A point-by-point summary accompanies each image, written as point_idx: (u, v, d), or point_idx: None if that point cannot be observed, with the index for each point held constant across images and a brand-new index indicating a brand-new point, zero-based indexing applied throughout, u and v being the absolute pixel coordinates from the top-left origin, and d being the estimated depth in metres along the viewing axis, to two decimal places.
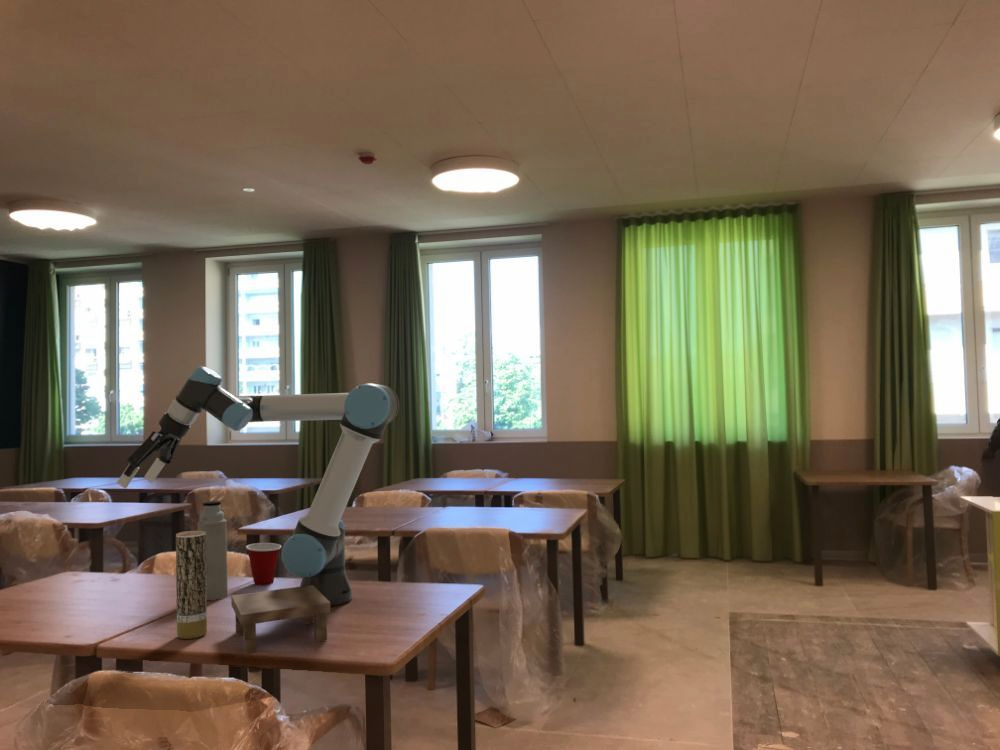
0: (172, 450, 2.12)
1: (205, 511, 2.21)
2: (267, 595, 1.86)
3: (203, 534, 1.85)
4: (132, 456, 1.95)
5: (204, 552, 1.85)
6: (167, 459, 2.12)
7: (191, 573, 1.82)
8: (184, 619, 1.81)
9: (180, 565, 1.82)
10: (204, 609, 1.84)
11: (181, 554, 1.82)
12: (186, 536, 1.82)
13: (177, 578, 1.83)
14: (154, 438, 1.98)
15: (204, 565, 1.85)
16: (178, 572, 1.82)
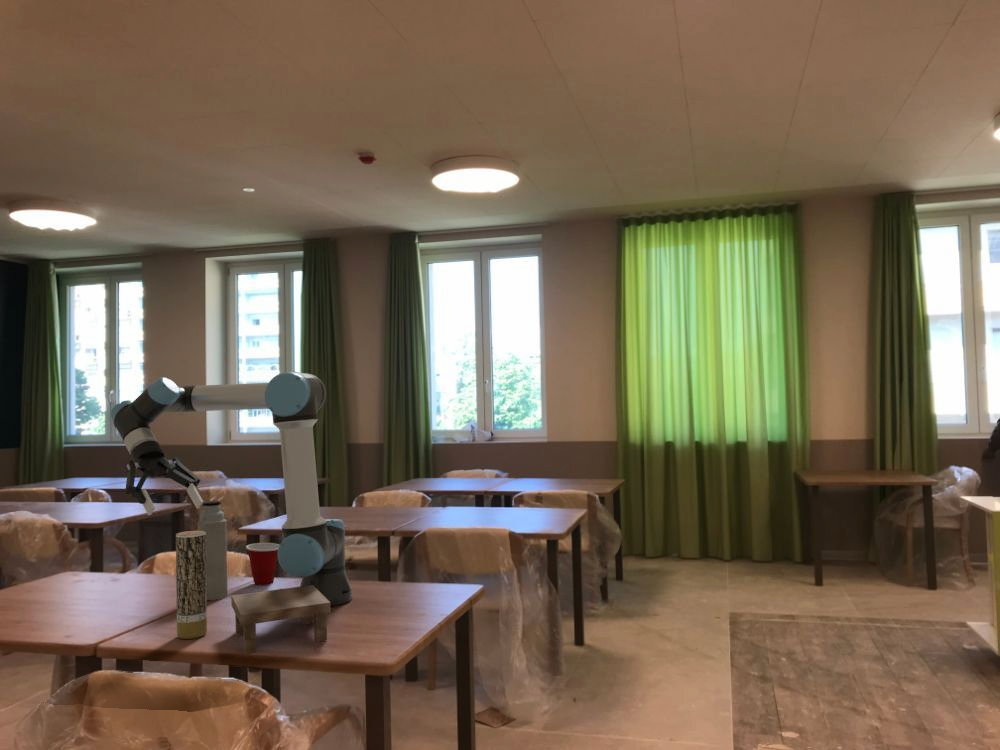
0: (187, 473, 2.06)
1: (205, 511, 2.21)
2: (267, 595, 1.86)
3: (203, 534, 1.85)
4: (126, 488, 1.91)
5: (204, 552, 1.85)
6: (190, 480, 2.04)
7: (191, 573, 1.82)
8: (184, 619, 1.81)
9: (180, 565, 1.82)
10: (204, 609, 1.84)
11: (181, 554, 1.82)
12: (186, 536, 1.82)
13: (177, 578, 1.83)
14: (128, 466, 1.96)
15: (204, 565, 1.85)
16: (178, 572, 1.82)
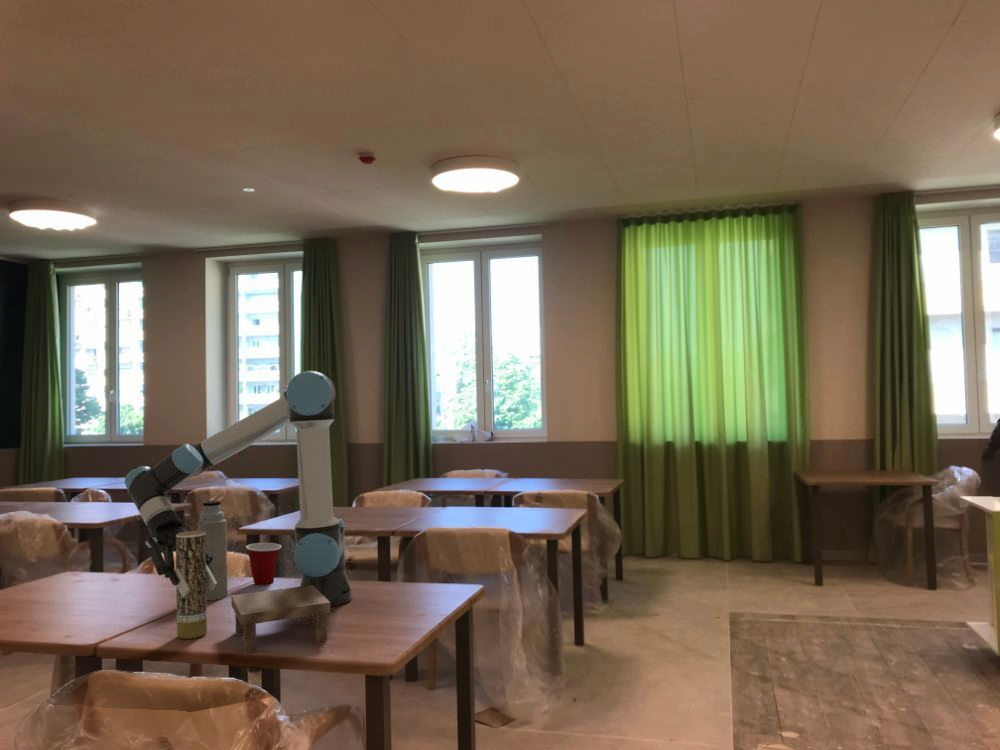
0: None
1: (205, 511, 2.21)
2: (267, 595, 1.86)
3: (203, 534, 1.85)
4: (157, 569, 1.81)
5: (204, 552, 1.85)
6: None
7: (191, 573, 1.82)
8: (184, 619, 1.81)
9: (180, 565, 1.82)
10: (204, 609, 1.84)
11: (181, 554, 1.82)
12: (186, 536, 1.82)
13: None
14: (149, 544, 1.84)
15: (204, 565, 1.85)
16: None
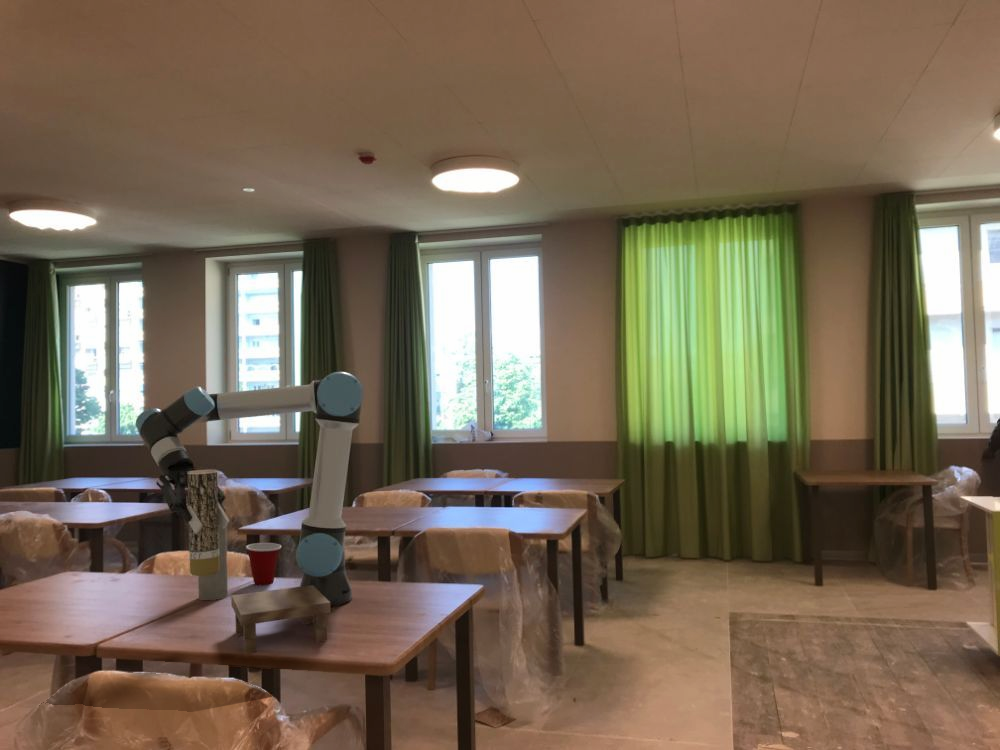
0: None
1: None
2: (267, 595, 1.86)
3: (215, 471, 1.84)
4: (169, 505, 1.81)
5: (216, 490, 1.85)
6: None
7: (203, 510, 1.82)
8: (197, 556, 1.81)
9: (192, 502, 1.82)
10: (217, 546, 1.84)
11: (193, 491, 1.81)
12: (198, 473, 1.82)
13: None
14: (161, 482, 1.84)
15: (216, 503, 1.84)
16: None
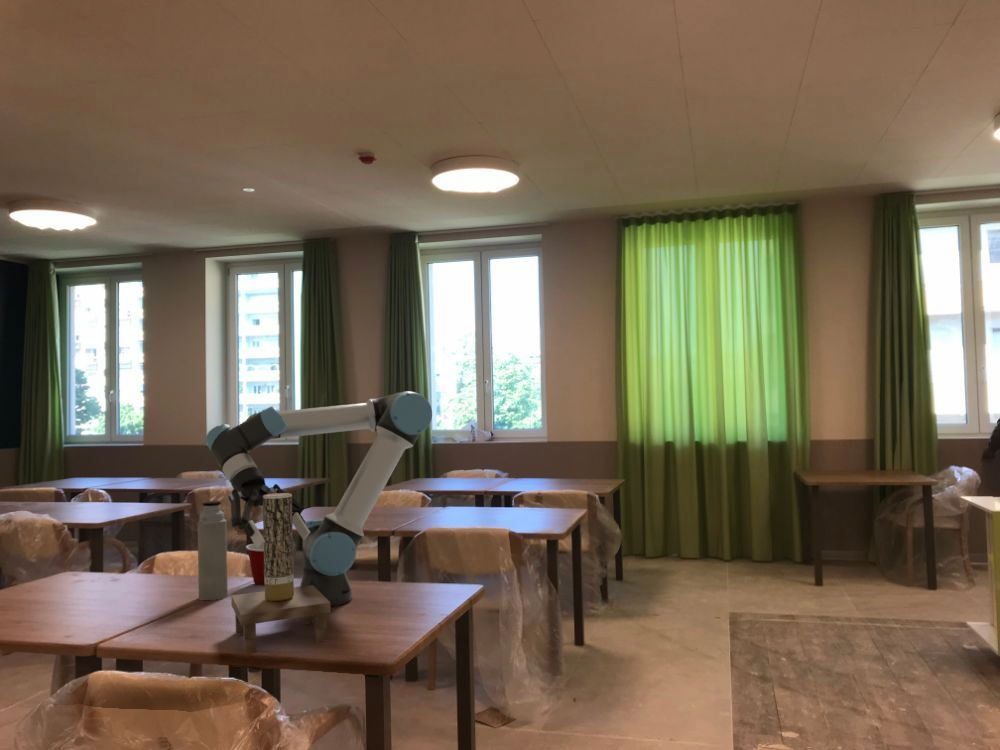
0: None
1: (205, 511, 2.21)
2: None
3: (290, 496, 1.83)
4: (232, 519, 1.78)
5: (291, 514, 1.83)
6: (294, 508, 1.90)
7: (280, 535, 1.80)
8: (273, 581, 1.79)
9: (268, 526, 1.80)
10: (292, 571, 1.82)
11: (269, 516, 1.80)
12: (274, 497, 1.80)
13: (265, 540, 1.80)
14: (232, 496, 1.82)
15: (291, 527, 1.83)
16: (266, 534, 1.80)
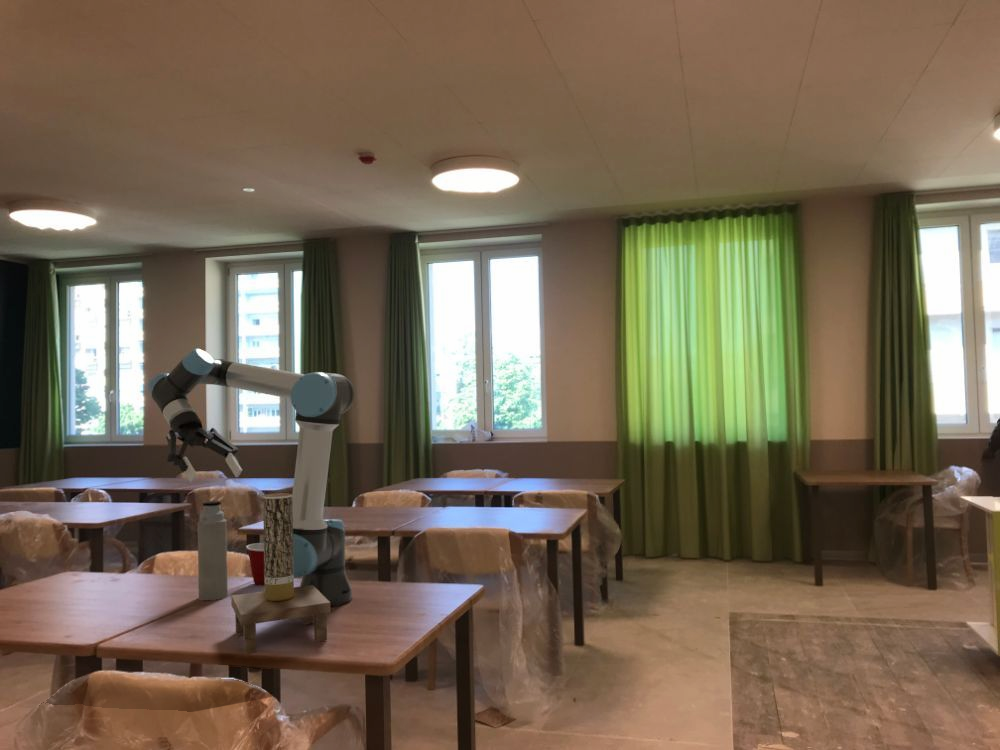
0: (225, 443, 2.08)
1: (205, 511, 2.21)
2: None
3: (290, 496, 1.83)
4: (167, 456, 1.94)
5: (292, 514, 1.83)
6: (228, 449, 2.07)
7: (280, 535, 1.80)
8: (273, 581, 1.79)
9: (268, 527, 1.80)
10: (292, 572, 1.82)
11: (270, 516, 1.80)
12: (274, 497, 1.80)
13: (265, 540, 1.80)
14: (169, 436, 1.99)
15: (291, 527, 1.83)
16: (266, 534, 1.80)
